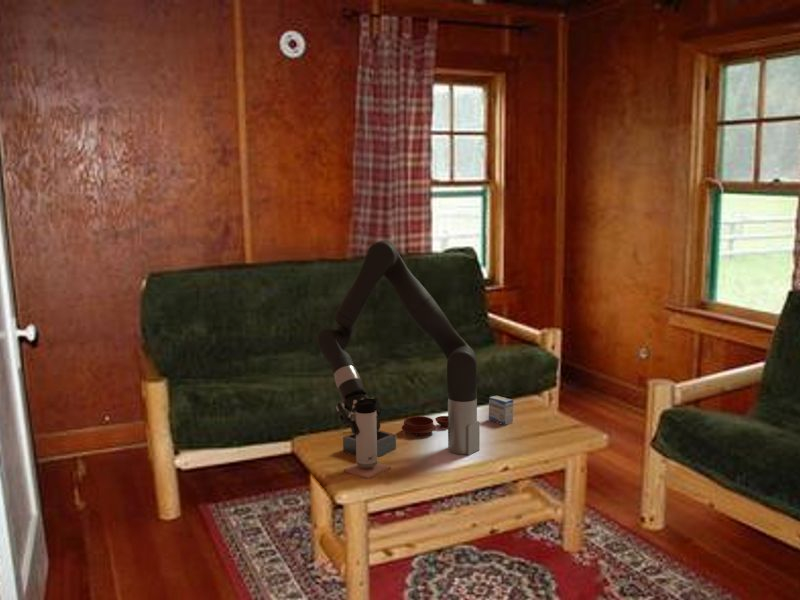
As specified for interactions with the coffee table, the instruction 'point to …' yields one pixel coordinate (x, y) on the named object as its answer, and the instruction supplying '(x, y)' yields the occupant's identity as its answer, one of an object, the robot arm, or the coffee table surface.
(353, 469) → the rubber mat
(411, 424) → the pottery
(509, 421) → the medicine box
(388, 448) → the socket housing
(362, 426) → the travel mug
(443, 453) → the coffee table surface
